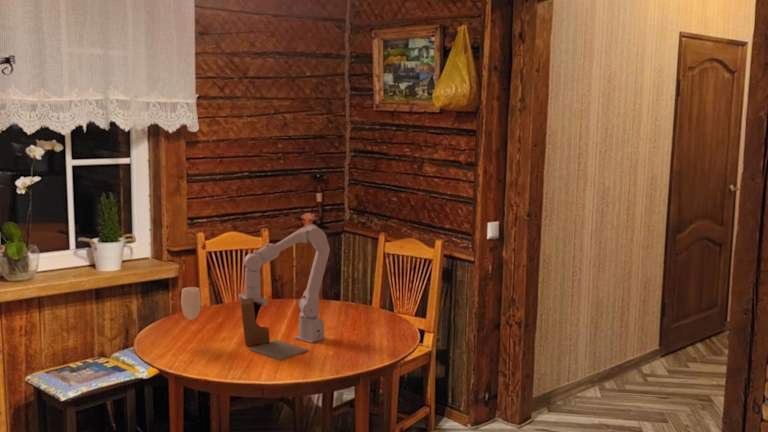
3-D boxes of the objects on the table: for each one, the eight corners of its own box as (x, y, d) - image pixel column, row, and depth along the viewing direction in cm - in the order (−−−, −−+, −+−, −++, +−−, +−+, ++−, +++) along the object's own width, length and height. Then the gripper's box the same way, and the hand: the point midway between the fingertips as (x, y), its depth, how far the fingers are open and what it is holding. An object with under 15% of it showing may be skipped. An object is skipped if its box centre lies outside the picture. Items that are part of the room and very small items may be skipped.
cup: (205, 340, 290) (204, 287, 287) (195, 346, 283) (194, 292, 280) (188, 338, 292) (187, 286, 289) (178, 344, 285) (176, 290, 282)
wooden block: (269, 336, 290) (265, 296, 282) (269, 343, 286) (265, 302, 278) (245, 339, 289) (240, 298, 281) (245, 346, 285) (240, 305, 277)
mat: (308, 351, 281) (308, 349, 281) (280, 360, 270) (280, 359, 270) (276, 341, 291) (276, 339, 291) (248, 349, 281) (248, 348, 281)
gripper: (232, 284, 288) (232, 319, 290) (257, 291, 279) (257, 327, 281) (246, 281, 293) (246, 315, 295) (272, 287, 284) (272, 323, 286)
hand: (253, 320), depth 288 cm, fingers closed
